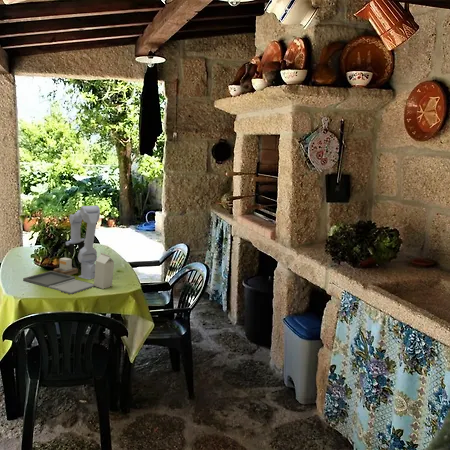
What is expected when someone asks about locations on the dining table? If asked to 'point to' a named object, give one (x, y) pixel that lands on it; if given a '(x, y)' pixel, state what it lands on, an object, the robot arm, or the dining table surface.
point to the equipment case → (59, 282)
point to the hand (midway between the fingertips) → (75, 254)
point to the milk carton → (103, 271)
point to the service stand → (66, 271)
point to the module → (65, 263)
